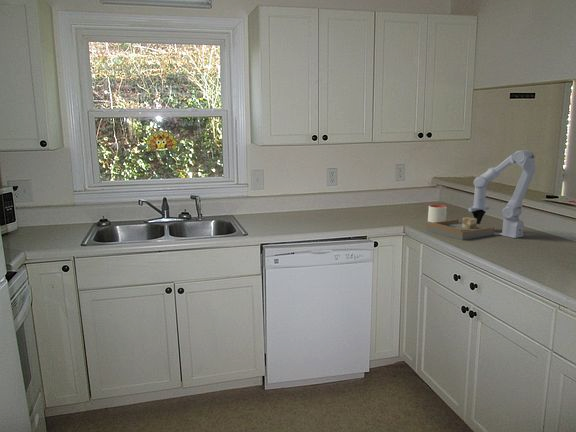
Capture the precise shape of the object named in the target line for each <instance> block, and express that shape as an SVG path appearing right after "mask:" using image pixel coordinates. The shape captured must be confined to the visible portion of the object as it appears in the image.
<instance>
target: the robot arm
mask: <svg viewBox="0 0 576 432" xmlns="http://www.w3.org/2000/svg"><path fill="white" fill-rule="evenodd" d="M535 159H536V156H535V155H534V153H533V151H531V150H530V149H524V150H523V149H522V150H521V149H520V150H516V151H515V152H514V153H512V154H510V155H509V156H508V157H507V158H505V159H504V160H503V161H502V162H500V163H499V164H498V165H497V166H495V167H492V166H491V167H488V168H487V170H486V171H484V173H481V174H480V176H477V177H475V178H474V180H473V186H474V192H473V193H474V195H473V196H474V197H473V205H472V206H471V207H468V208H467V209H468V210H467V211H468V212H471V213H472V215H473V218H476V219H477V223H476V225H480V224H481V222H482V219H483V217H484V215H485V214H486V210H487V211H489V210H490V206H489V205H486V196H487V187H488V186H489V185H490V183H491V182H493V181H494V180H495V179H496V178H499V177H500V173H501V172H503V171H504V170H506V169H507V168H508V167H511V166H512V165H513V164H517V165H518V166H519V167H520V169H521V170H522V171H521V175H520V177H519V179H518V182H517V184H516V187H515V189H514V191H513V193H512V196H511V198H510V200H509V201H508V202H507V203H506V206H505V207H504V208H503V209H502V210H501V216H503V220H502V231H501V232H499V233H498V235H500V236H503V237H507V238H512V239H516V238H517V239H518V238H524V228H525V222H524V221H522V220H520V216H521V214H522V207H523V200H524V198H525V196H526V194H527V191H528V189H529V186H530V184H531V182H532V179H533V177H534V175H535V173H536V169H537V168H536V162H535Z"/></svg>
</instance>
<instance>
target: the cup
mask: <svg viewBox="0 0 576 432" xmlns="http://www.w3.org/2000/svg"><path fill="white" fill-rule="evenodd" d="M447 209H448V207H447V206H446V205H442V204H431V205H428V212H427V223H428V222H440V221H447V212H448V211H447Z"/></svg>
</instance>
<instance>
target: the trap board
mask: <svg viewBox="0 0 576 432" xmlns="http://www.w3.org/2000/svg"><path fill="white" fill-rule="evenodd" d="M425 232H430V233H433V234H436V235H437V234H438V235H441V236H445V237H449V238H453V239H457V240H461V241H464V240H471V239H478V238H481V237H489V236H493V235H495V226H491V227H483V228H482V227H477V226H476V228H472V229H468V228H464V227H462V222H461V223H460V222H459V218H457V219H455V218H454V219H448V220H447V219H446V221H440V222H428V221H427V222H426V225H425Z"/></svg>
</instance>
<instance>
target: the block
mask: <svg viewBox="0 0 576 432" xmlns="http://www.w3.org/2000/svg"><path fill="white" fill-rule="evenodd" d="M476 223H477V219H476V218H474V217H470V216H469V217H468V216H467V217H462V222H461V224H462V227H464V228H468V229H472V228H476V227H477V224H476Z"/></svg>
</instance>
